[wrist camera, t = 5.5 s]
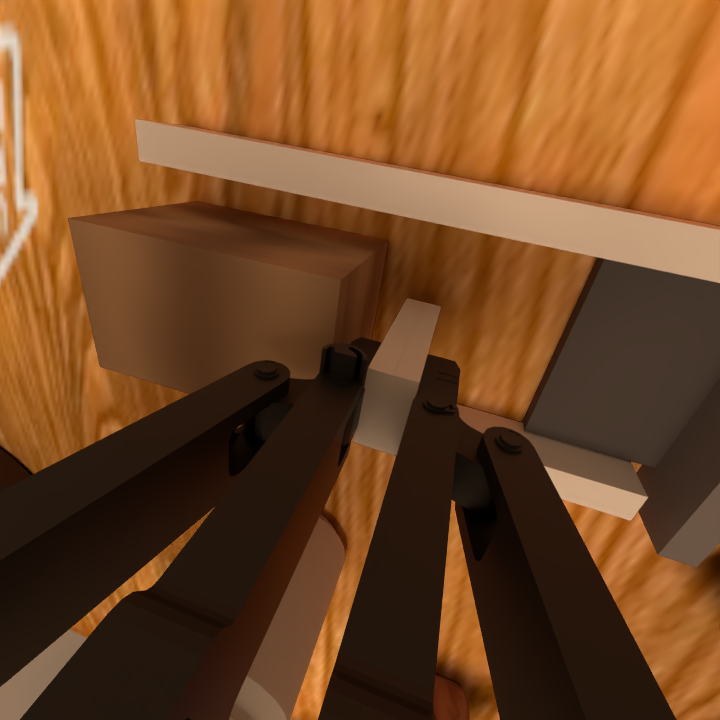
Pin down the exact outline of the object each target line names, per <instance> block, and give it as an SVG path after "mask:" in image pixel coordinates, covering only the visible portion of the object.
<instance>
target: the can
mask: <svg viewBox="0 0 720 720" xmlns="http://www.w3.org/2000/svg"><path fill="white" fill-rule="evenodd" d="M344 561H345V549H344V546H343V544H342V542H341V540H340V538H339V536H338V534H337V533H336V531H335V529H334V527H333V526H332V525H331V524H330V523H329V521H328V520H327V519H326V518H325V517H323V516H322V515H320V517H319V519H318V521H317V523H316V526H315V528H314V530H313V532H312V534H311V537H310V539H309V541H308V543H307V545H306V547H305V550H304V552H303V554H302V556H301V558H300V561H299V563H298V565H297V567H296V569H295V572H294V574H293V576H292V578H291V580H290V582H289V585H288V587H287V589H286V591H285V593H284V596H283V598H282V600H281V602H280V604H279V607H278V609H277V611H276V613H275V615H274V617H273V620H272V622H271V624H270V626H269V628H268V631H267V633H266V635H265V637H264V639H263V642H262V644H261V646H260V648H259V650H258V652H257V655H256V657H255V659H254V661H253V663H252V666H251V668H250V670H249V672H248V674H247V676H246V679H245V681H244V683H243V685H242V687H241V690H240V692H239V694H238V696H237V699H236V701H235V703H234V706H233V709H232V711H231V714H230V718H229V720H290V718H291V715H292V712H293V709H294V706H295V703H296V700H297V697H298V695H299V692H300V689H301V686H302V683H303V680H304V677H305V674H306V671H307V668H308V666H309V663H310V660H311V657H312V654H313V651H314V648H315V645H316V642H317V639H318V637H319V634H320V631H321V628H322V625H323V622H324V619H325V616H326V613H327V610H328V608H329V605H330V602H331V599H332V596H333V593H334V590H335V587H336V584H337V582H338V579H339V576H340V573H341V570H342V567H343V564H344Z"/></svg>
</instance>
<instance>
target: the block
mask: <svg viewBox="0 0 720 720" xmlns="http://www.w3.org/2000/svg"><path fill="white" fill-rule="evenodd" d="M68 221H69V226H70V231H71V235H72V240H73V244H74V249H75V254H76V258H77V263H78V268H79V272H80V277H81V282H82V286H83V291H84V295H85V300H86V305H87V309H88V314H89V319H90V323H91V328H92V333H93V337H94V342H95V347H96V351H97V356H98V360H99V365H100V367H102V368H106V369H109V370H112V371H116V372H119V373H122V374H126V375H129V376H132V377H136V378H139V379H142V380H145V381H149V382H152V383H155V384H159V385H162V386H165V387H169V388H172V389H175V390H179V391H182V392H185V393H189V394H191V393H193V392H195V391H197V390H199V389H201V388H203V387H205V386H207V385H209V384H211V383H213V382H215V381H217V380H218V379H220V378H222V377H224V376H226V375H228V374H230V373H232V372H234V371H236V370H238V369H240V368H242V367H244V366H246V365H248V364H250V363H253V362H256V361H263V360H270V361H276V362H279V363H282V364H283V365H285V366H286V367H288V369H289V370H290V378H296V379H315V377H316V376H317V375H318V374H319V371H320V363H321V355H322V348H323V347H325V346H326V345H329V344H333V343H344V344H350V343H351V342H352V341H353V340H356V339H358V338H360V337H363V338H366V339H370V340H372V334H373V328H374V322H375V316H376V311H377V305H378V299H379V293H380V288H381V282H382V276H383V270H384V264H385V259H386V253H387V247H388V241H389V240H384V239H379V238H374V237H369V236H364V235H359V234H354V233H349V232H344V231H339V230H335V229H330V228H325V227H320V226H315V225H310V224H305V223H300V222H295V221H290V220H285V219H280V218H276V217H271V216H266V215H261V214H256V213H251V212H246V211H241V210H236V209H231V208H226V207H221V206H217V205H212V204H207V203H202V202H197V201H195V202H187V203H179V204H172V205H164V206H157V207H149V208H141V209H134V210H126V211H119V212H111V213H104V214H96V215H88V216H81V217H73V218H68Z"/></svg>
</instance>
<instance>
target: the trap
mask: <svg viewBox="0 0 720 720" xmlns="http://www.w3.org/2000/svg"><path fill="white" fill-rule="evenodd" d="M523 425H524V430H525V431H528V432H531V433H535V434H538V435H542V436H545V437H549V438H552V439H556V440H559V441H563V442H566V443H570V444H573V445H577V446H580V447H583V448H587V449H590V450H594V451H597V452H601V453H604V454H608V455H611V456H615V457H618V458H622V459H625V460H628V461H632V462H635V463H639V464H642V465H643V466H642V467H641V469H640V470H639V471H638V473H637V476H638V478H639V480H640V482H641V484H642V486H643V488H644V490H645V492H646V494H647V496H648V498H647V500H646V501H645V502H644V504H643V505H642V506H641V508H640V509H639V510H638V512H639V514H640V516H641V519H642V521H643V523H644V525H645V527H646V530H647V532H648V534H649V536H650V539H651V541H652V543H653V545H654V547H655V550H656V552H657V554H658V555H660V556H663V557H666V558H669V559H672V560H675V561H678V562H681V563H684V564H687V565H691V566H694V567H697V566H698V565H699V564H700V563H701V562H702V561H703V560H704V559H705V558H706V557H707V556H708V555H709V554H710V553H711V552H712V551H713V550H714V549H715V548H716V547H717V546H718V545H719V544H720V283H717V282H713V281H708V280H703V279H698V278H694V277H689V276H684V275H679V274H675V273H670V272H665V271H660V270H656V269H651V268H646V267H641V266H637V265H632V264H627V263H622V262H618V261H613V260H608V259H603V258H599V257H598V258H597V261H596V263H595V265H594V267H593V269H592V271H591V274H590V276H589V278H588V280H587V282H586V285H585V287H584V289H583V291H582V293H581V295H580V298H579V300H578V302H577V304H576V306H575V309H574V311H573V313H572V315H571V317H570V319H569V322H568V324H567V326H566V328H565V330H564V332H563V335H562V337H561V339H560V341H559V343H558V346H557V348H556V350H555V352H554V354H553V356H552V359H551V361H550V363H549V365H548V367H547V370H546V372H545V374H544V376H543V378H542V380H541V383H540V385H539V387H538V389H537V391H536V394H535V396H534V398H533V400H532V402H531V404H530V407H529V409H528V411H527V413H526V415H525V418H524V420H523Z"/></svg>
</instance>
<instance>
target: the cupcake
mask: <svg viewBox="0 0 720 720" xmlns="http://www.w3.org/2000/svg"><path fill="white" fill-rule="evenodd" d="M433 708H434V713H435V716H436V718H437V720H470V717H469V706H468V701H467V697H466V694H465V692H464V691H463V690H462V688H461V687H460V686H459V685H458V684H457V683H455V682H453V681H451V680H449V679H447V678H444V677H442V676H439V675H436V674H435V684H434V698H433Z"/></svg>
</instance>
